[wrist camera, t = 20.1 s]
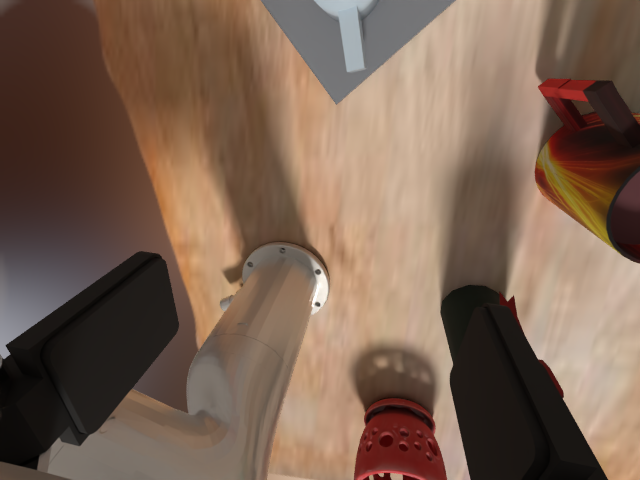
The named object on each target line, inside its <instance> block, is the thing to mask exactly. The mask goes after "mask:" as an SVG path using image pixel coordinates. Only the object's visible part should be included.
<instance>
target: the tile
mask: <svg viewBox="0 0 640 480" xmlns="http://www.w3.org/2000/svg"><path fill="white" fill-rule="evenodd" d="M261 1H262V3H263V4H264V6H265V7H266V8H267V10H268V11H269V12H270V14H271V15H272V17H273V18H274V19H275V21H276V22H277V23H278V25H279V26H280V28H281V29H282V30H283V32H284V33H285V35H286V36H287V37H288V39H289V40H290V41H291V43H292V44H293V46H294V47H295V48H296V50H297V51H298V52H299V54H300V55H301V57H302V58H303V59H304V61H305V62H306V63H307V65H308V66H309V68H310V69H311V70H312V72H313V73H314V74H315V76H316V77H317V79H318V80H319V81H320V83H321V84H322V85H323V87H324V88H325V90H326V91H327V92H328V94H329V95H330V97H331V98H332V99H333V101H334V102H335V103H336V105H337V104H338V103H339V102H340V101H341V100H343V99H344V98H345V97H346V96H347V95H348V94H349V93H351V92H352V91H353V90H354V89H355V88H356V87H357V86H359V85H360V84H361V83H362V82H363V81H364V80H365V79H367V78H368V77H369V76H370V75H371V74H372V73H373V72H375V71H376V70H377V69H378V68H379V67H380V66H381V65H383V64H384V63H385V62H386V61H387V60H388V59H389V58H391V57H392V56H393V55H394V54H395V53H396V52H397V51H399V50H400V49H401V48H402V47H403V46H404V45H405V44H407V43H408V42H409V41H410V40H411V39H412V38H413V37H415V36H416V35H417V34H418V33H419V32H420V31H421V30H423V29H424V28H425V27H426V26H427V25H428V24H429V23H431V22H432V21H433V20H434V19H435V18H436V17H437V16H438V15H440V14H441V13H442V12H443V11H444V10H445V9H446V8H448V7H449V6H450V5H451V4H452V3H453V2H454V1H456V0H379V2H378V4H377V5H376V7H375V8H374V10H373V11H372V12H371V13H370V14H369V15H368V16H367V17H365V18H364V19H362V20H361V22H362V30H363V38H364V47H365V55H366V63H367V69H365V70H361V71H356V72H352V73H351V72H347V70H346V63H345V56H344V49H343V43H342V36H341V29H340V22H337V21H335V20H334V19H332V18H331V17H330V16H328V15H327V14H326V13H325V12H324V11H323V9H322V8H321V7H320V6H319V5H318V4H317V3H316V2H315V1H314V0H261Z"/></svg>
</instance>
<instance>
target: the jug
mask: <svg viewBox="0 0 640 480" xmlns="http://www.w3.org/2000/svg"><path fill="white" fill-rule="evenodd" d="M314 1H315V2H316V3H317V4H318V5H319V6H320V7H321V8H322V9H323V11H324V12H325V13H326V14H327V15H328V16H330V17H331V18H332V19H334V20H335V21H337V22H340V29H341V36H342V43H343V49H344V56H345V63H346V70H347V72H351V73H352V72H356V71H361V70H365V69H367V63H366V55H365V47H364V38H363V30H362V22H361V20H362V19H364V18H365V17H367V16H368V15H369V14H370V13H371V12H372V11H373V10H374V8H375V7H376V5H377V4H378V2H379V0H314Z"/></svg>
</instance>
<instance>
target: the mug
mask: <svg viewBox="0 0 640 480" xmlns="http://www.w3.org/2000/svg"><path fill="white" fill-rule="evenodd" d="M538 88H539V90H540V91H541V93H542V94H543V96H544V97H545V99H546V100H547V101H548V103H549V104H550V106H551V107H552V108H553V110H554V111H555V112H556V114H557V115H558V117H559V118H560V119H561V121H562V122H563V123H564V126H563V127H561V128H560V129H559V130H558V131H557V132H556V133H554V134H553V135H552V136H551V138H550V139H549V140H548V141H547V142H546V144H545V145H544V147H543V148H542V150H541V152H540V153H539V156H538V159H537V162H536V167H535V181H536V183H537V186H538V189H539V190H540V192H541V193H542V195H544V196H545V197H546V198H547V199H548V200H549V201H551V202H552V203H553V204H555V205H556V206H557V207H559V208H560V209H561V210H563V211H564V212H565V213H567V214H568V215H569V216H571V217H572V218H573V219H575V220H576V221H577V222H579V223H580V224H581V225H583V226H584V227H585V228H587V229H588V230H589V231H591V232H592V233H593V234H594V235H596V236H597V237H598V238H600V239H601V240H602V241H604V242H605V243H606V244H608V245H609V246H610V247H612V248H613V249H614V250H616V251H617V252H618V253H620V254H621V255H622V256H624V257H626V258H628V259H630V260H631V261H633V262H636V263H640V114H638V113H631V111H630V110H629V108H628V107H627V105H626V104H625V102H624V101H623V99H622V98H621V96H620V95H619V93H618V91H617V89H616V88H615V86H614V84H613V82H612V81H595V80H571V79H547V80H546V81H545V82H543V83H542V84H541V85H539V86H538ZM570 99H572V100H580V101H588V102H589V103H590V104H591V106H592V107H593V109H594V110H595V112H592V113H589V114H585V115H583V116H582V115H581V114H580V113H579V111H578V110H577V108H576V107H575V106H574V104H573V103H572V101H571V100H570Z"/></svg>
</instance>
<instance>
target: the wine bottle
mask: <svg viewBox="0 0 640 480" xmlns="http://www.w3.org/2000/svg"><path fill="white" fill-rule="evenodd" d="M484 303H490V304H497V305H503V306H507V307H509V308H510V310H511V311H512V313H513V315H514V317H515V319H516V321H517V322H518V324H519V326H520V328H521V330H522V327H521V325H520V322H519V320H518V317H517V312H516V306H515V299H514V296H513V297H512V298H511V299H510V300H509V301H508V302H507V300H506V299H505V298H504V297H503V295H502V294H501V293H500V291H499V294H498V293H497V292H495V291H493V290H491V289H490V288H488V287H486V286H474V285H467V286H465V287H462V288H459V289H456V290H453V291H452V292H451V293H450V294H449V295H448V296H447V297H446V298H445V299H444V300H443V301H442V307H441V317H442V321H443V325H444V329H445V333H446V337H447V341H448V345H449V349H450V353H451V357H452V361H453V365H454V362H455V359H456V357H457V354H458V351H459V349H460V346H461V343H462V340H463V338H464V335H465V332H466V330H467V327H468V324H469V321H470V319H471V316H472V313H473V311H474V309H475V308H476V307H481V306H482V305H483V304H484ZM522 331H523V330H522ZM523 333H524V332H523ZM538 361H539V362H540V363H541V364H543V366H544V367H545V368H546V370H547V372H548V373H549V375H550V377H551V379H552V380H553V382H554V384H555V386H556V388H557V389H558V391H559V393H560V395H561V397H562V398H564V395H563V390H562V388H561V387H560V385H559V383H558V381H557V380H556V378H555V376H554V374H553V373H552V371H551V369H550V368H549V367H548V366H547V364H546V363H545V362H544V361H543V360H538Z"/></svg>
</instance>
